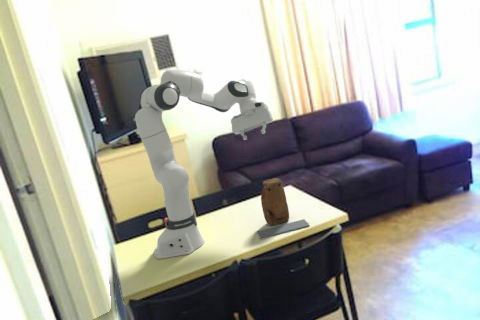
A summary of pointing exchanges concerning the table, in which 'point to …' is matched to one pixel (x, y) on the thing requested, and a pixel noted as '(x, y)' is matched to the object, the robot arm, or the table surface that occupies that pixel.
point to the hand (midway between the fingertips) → (254, 136)
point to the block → (274, 202)
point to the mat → (282, 228)
